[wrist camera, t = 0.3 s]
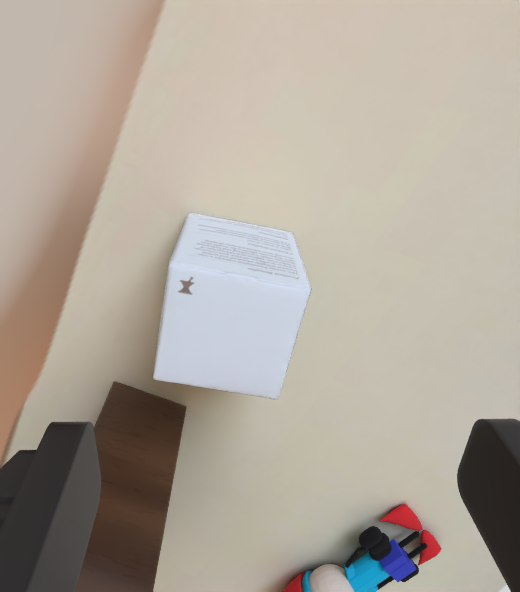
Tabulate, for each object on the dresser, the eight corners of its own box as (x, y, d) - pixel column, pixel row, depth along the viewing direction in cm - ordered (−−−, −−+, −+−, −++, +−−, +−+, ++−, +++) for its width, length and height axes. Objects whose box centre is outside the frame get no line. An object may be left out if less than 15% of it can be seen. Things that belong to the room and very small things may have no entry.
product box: (171, 306, 28) (147, 381, 21) (187, 208, 25) (166, 258, 18) (271, 325, 28) (279, 403, 22) (297, 231, 26) (314, 287, 19)
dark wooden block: (103, 376, 30) (-32, 665, 15) (186, 406, 31) (133, 699, 17) (44, 523, 36) (-94, 833, 21) (116, 544, 37) (31, 849, 22)
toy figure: (390, 480, 36) (241, 588, 38) (422, 534, 32) (253, 654, 33) (431, 525, 40) (293, 623, 41) (466, 580, 35) (310, 687, 37)
